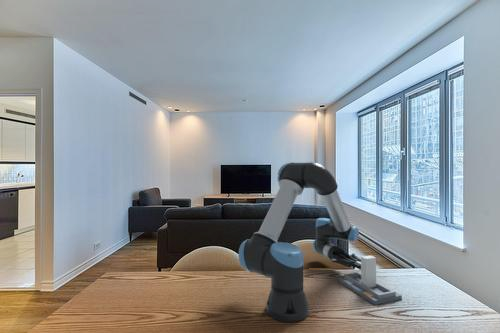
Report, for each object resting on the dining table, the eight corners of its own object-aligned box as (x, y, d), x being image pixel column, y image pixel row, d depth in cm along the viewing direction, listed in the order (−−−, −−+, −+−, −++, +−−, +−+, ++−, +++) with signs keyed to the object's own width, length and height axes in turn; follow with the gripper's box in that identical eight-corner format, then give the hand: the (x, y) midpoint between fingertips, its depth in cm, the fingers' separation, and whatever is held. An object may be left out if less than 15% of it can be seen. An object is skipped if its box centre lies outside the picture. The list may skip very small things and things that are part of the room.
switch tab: (361, 285, 115) (360, 256, 115) (370, 283, 116) (370, 255, 116) (366, 288, 112) (365, 258, 112) (376, 286, 114) (375, 257, 114)
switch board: (338, 281, 123) (338, 274, 123) (362, 277, 127) (362, 271, 127) (374, 304, 102) (374, 296, 102) (401, 299, 106) (401, 291, 106)
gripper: (344, 258, 141) (380, 276, 118) (322, 262, 137) (355, 280, 114) (344, 244, 141) (379, 258, 118) (322, 247, 137) (354, 262, 114)
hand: (367, 269), depth 116 cm, fingers closed
